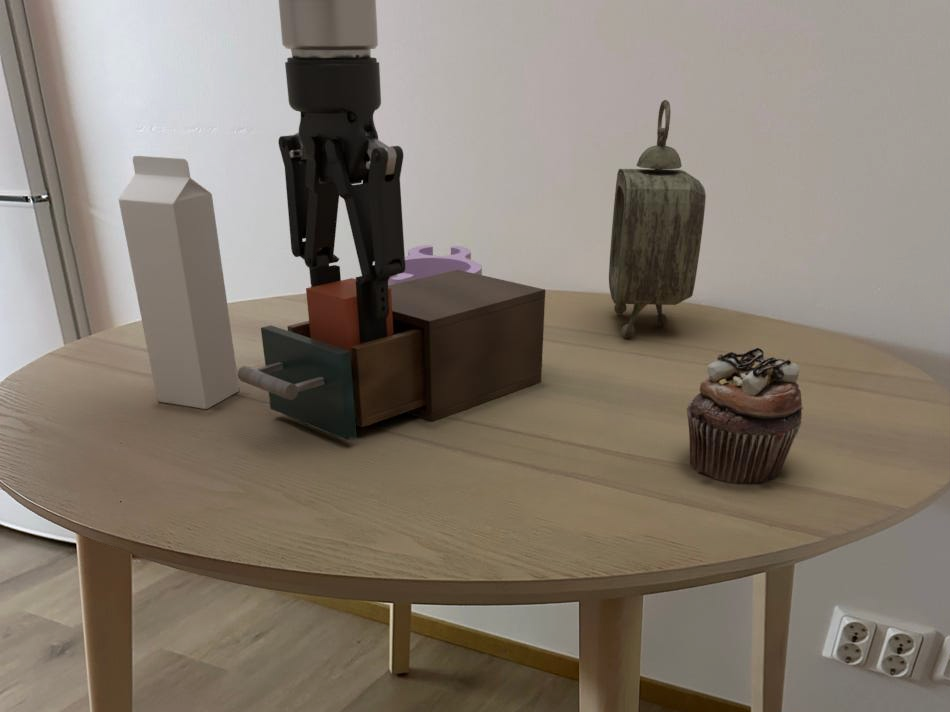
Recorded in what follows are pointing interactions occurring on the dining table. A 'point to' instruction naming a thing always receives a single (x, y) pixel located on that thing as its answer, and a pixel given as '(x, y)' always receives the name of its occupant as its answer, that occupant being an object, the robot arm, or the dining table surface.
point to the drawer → (341, 377)
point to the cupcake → (745, 418)
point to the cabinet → (472, 337)
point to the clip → (435, 263)
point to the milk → (179, 283)
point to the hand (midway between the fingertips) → (352, 345)
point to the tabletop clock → (655, 231)
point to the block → (338, 314)
